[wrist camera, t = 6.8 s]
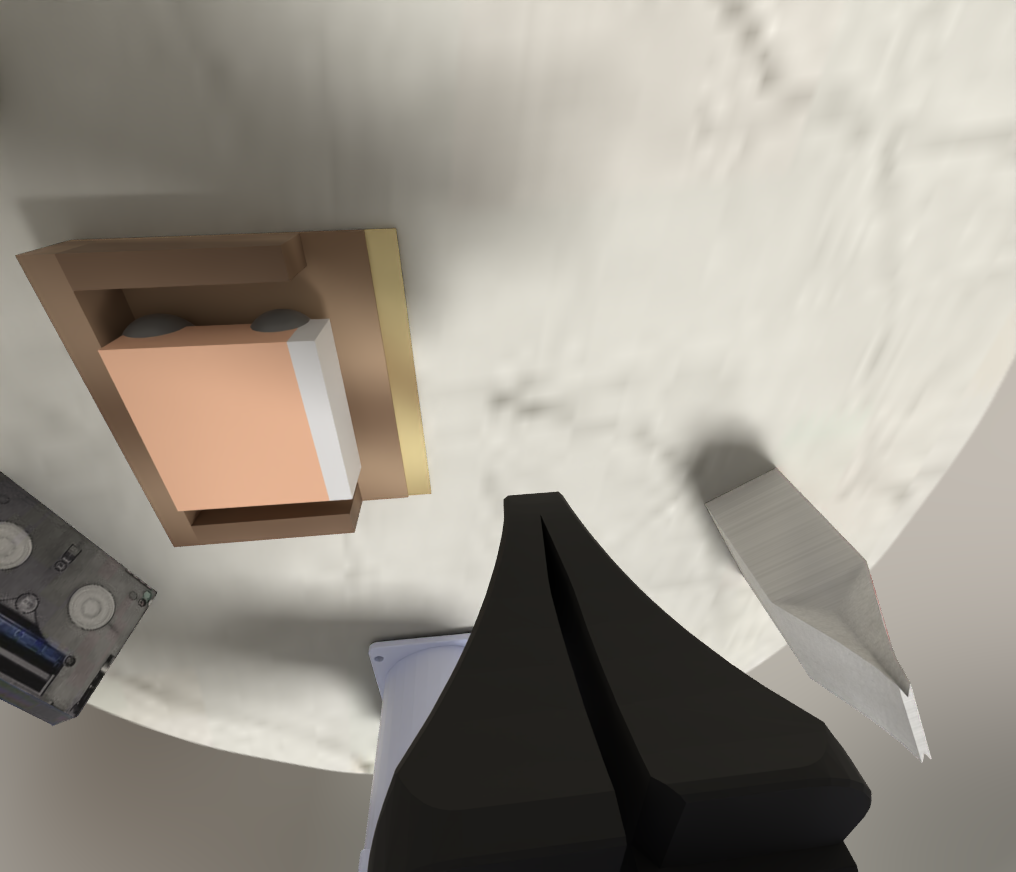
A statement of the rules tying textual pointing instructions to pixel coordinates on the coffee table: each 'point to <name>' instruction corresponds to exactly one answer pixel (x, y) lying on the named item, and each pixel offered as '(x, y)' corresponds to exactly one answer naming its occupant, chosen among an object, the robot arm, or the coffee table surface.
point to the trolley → (239, 408)
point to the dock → (240, 300)
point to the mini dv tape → (58, 609)
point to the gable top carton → (819, 600)
